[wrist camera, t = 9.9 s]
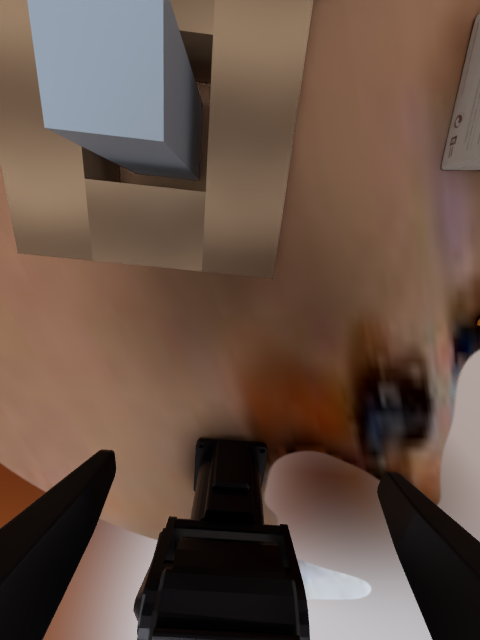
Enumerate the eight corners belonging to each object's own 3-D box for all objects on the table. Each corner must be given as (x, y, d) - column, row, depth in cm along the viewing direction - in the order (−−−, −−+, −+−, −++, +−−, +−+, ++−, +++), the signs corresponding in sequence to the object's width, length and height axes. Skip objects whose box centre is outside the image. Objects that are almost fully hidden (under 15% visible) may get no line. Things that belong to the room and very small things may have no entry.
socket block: (266, 267, 18) (273, 278, 14) (65, 247, 18) (18, 253, 14) (302, -3, 13) (327, -94, 10) (27, -39, 13) (-60, -149, 9)
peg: (202, 103, 15) (163, -21, 7) (199, 180, 16) (163, 141, 9) (133, 95, 15) (21, -41, 7) (135, 173, 16) (44, 127, 9)
